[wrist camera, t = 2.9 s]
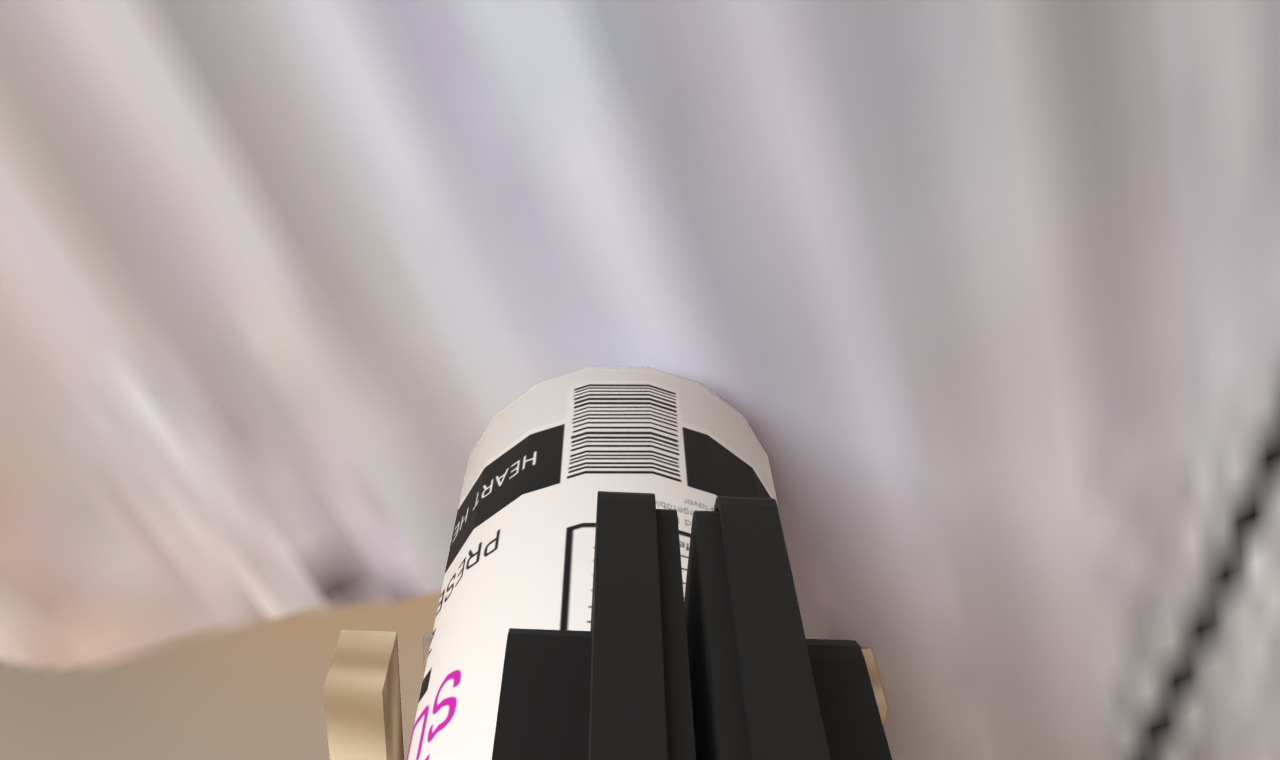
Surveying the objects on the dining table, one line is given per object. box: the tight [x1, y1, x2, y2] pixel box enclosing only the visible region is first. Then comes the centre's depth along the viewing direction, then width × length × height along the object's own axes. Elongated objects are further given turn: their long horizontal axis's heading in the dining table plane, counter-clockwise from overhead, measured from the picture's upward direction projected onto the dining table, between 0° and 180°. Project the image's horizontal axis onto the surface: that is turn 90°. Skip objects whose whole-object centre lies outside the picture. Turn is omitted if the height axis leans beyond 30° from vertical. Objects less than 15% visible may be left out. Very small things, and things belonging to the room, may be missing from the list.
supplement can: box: [407, 367, 787, 760], centre depth 25 cm, size 8×8×15 cm
